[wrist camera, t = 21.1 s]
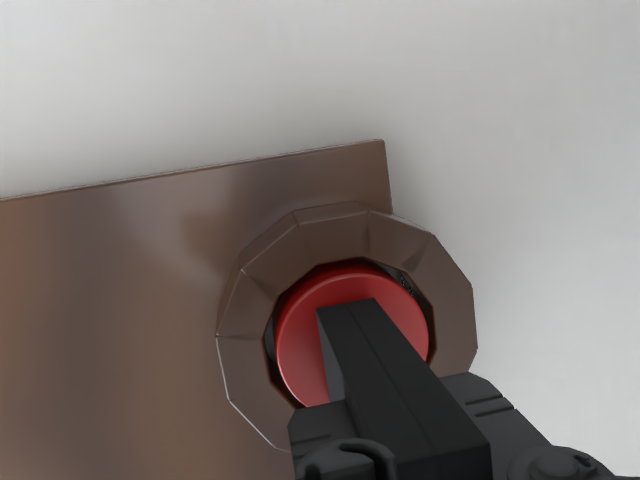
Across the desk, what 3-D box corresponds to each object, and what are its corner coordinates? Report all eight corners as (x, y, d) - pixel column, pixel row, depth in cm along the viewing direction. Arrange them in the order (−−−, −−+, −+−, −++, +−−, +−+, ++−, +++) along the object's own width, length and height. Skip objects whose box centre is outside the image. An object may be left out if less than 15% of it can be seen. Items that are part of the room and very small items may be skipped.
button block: (426, 130, 16) (459, 132, 14) (457, 433, 18) (490, 480, 16) (-303, 246, 14) (-415, 271, 12) (-170, 572, 16) (-241, 649, 14)
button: (401, 246, 16) (421, 260, 14) (416, 374, 17) (437, 403, 15) (261, 271, 15) (264, 289, 14) (284, 402, 16) (290, 434, 14)
